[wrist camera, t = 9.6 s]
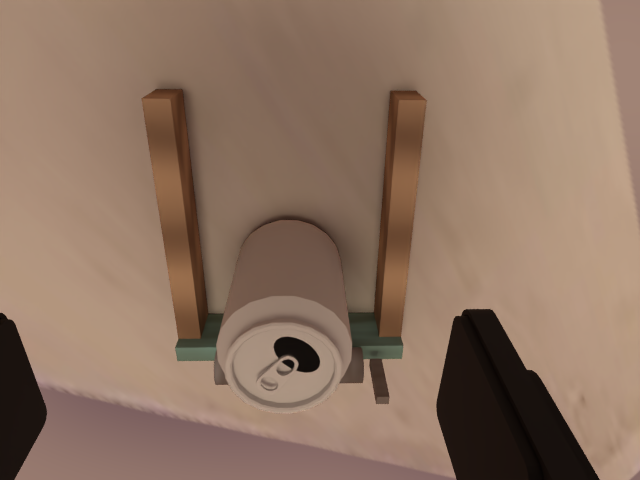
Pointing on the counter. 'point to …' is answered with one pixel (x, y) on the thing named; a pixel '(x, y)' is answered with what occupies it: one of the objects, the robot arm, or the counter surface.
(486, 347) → the robot arm
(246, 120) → the counter surface
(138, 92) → the counter surface
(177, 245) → the bay
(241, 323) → the can
